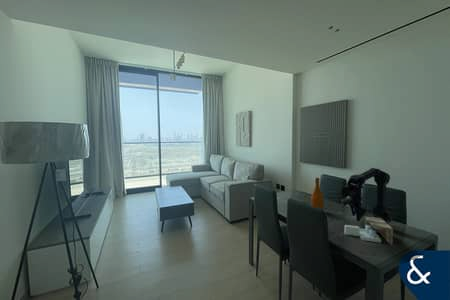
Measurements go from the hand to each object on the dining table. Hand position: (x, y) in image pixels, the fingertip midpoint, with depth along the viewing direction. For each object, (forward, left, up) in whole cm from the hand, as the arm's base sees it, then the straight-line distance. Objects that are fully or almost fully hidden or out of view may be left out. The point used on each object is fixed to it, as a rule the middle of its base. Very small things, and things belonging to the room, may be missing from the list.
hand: (355, 218), depth 126 cm
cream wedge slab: (-1, +13, -11) cm, 17 cm away
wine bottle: (-38, -18, -12) cm, 43 cm away
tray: (0, +3, -11) cm, 12 cm away
